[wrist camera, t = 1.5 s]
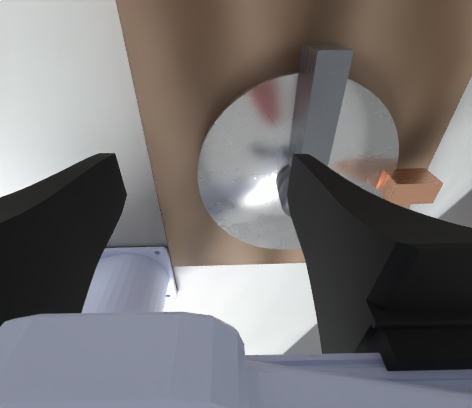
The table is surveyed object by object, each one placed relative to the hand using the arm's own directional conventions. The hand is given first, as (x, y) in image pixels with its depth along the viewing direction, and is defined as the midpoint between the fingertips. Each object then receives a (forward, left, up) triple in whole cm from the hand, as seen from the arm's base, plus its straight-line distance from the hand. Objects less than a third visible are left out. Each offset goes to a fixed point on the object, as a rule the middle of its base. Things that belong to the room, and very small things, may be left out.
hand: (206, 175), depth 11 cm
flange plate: (+7, -4, -7) cm, 11 cm away
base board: (+6, -4, -10) cm, 12 cm away
